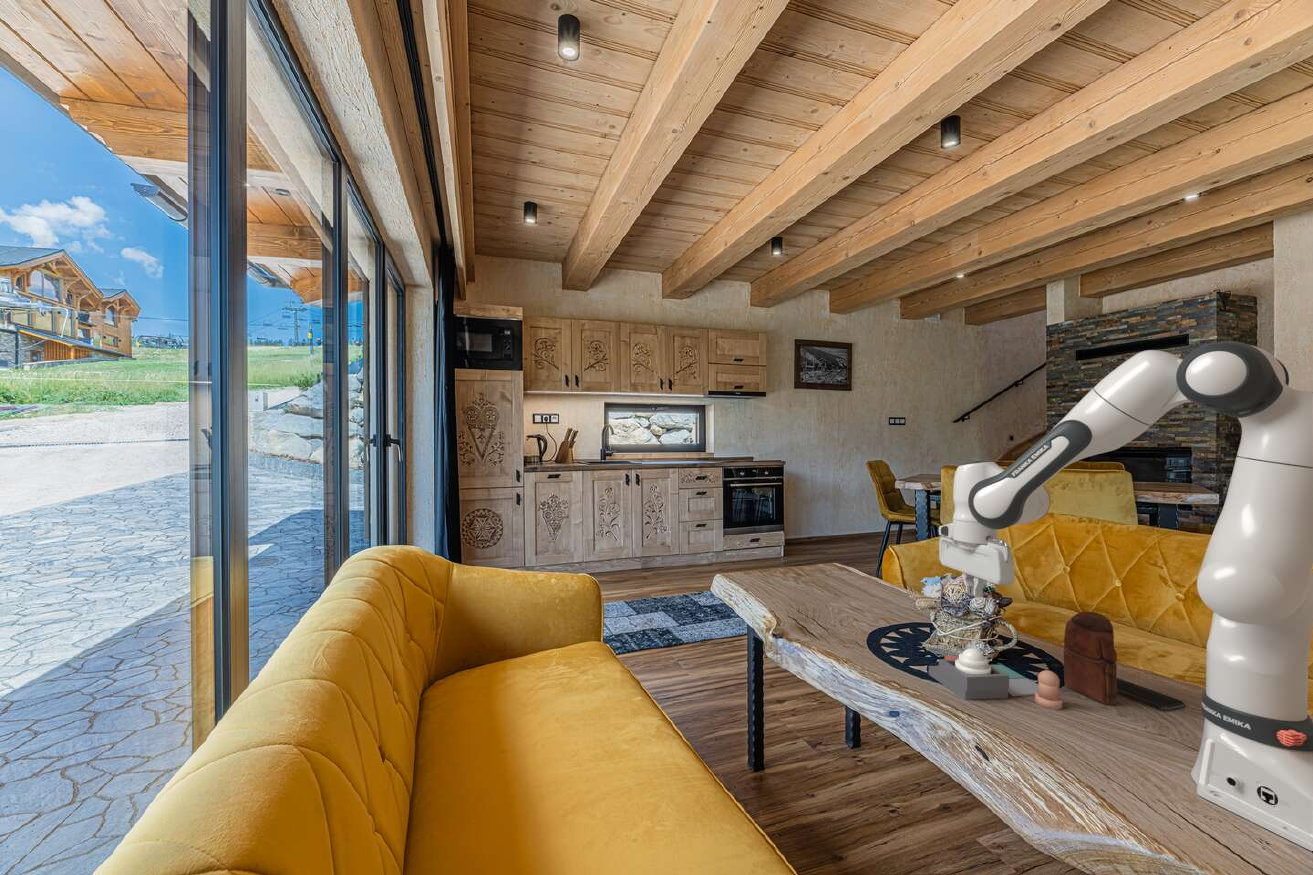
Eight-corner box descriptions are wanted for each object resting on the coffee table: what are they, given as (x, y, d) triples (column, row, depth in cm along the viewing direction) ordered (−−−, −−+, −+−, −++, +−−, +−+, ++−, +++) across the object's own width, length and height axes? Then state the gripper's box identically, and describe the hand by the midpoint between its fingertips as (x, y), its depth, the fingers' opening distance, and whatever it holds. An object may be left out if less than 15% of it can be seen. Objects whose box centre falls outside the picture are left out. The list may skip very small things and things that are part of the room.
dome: (998, 678, 122) (998, 654, 122) (968, 679, 121) (969, 655, 122) (976, 665, 129) (976, 642, 129) (948, 666, 128) (948, 643, 128)
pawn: (1068, 709, 117) (1068, 675, 117) (1047, 710, 116) (1047, 676, 116) (1049, 698, 121) (1049, 666, 122) (1029, 699, 121) (1029, 666, 121)
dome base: (1009, 698, 121) (1009, 675, 121) (966, 700, 120) (966, 677, 120) (967, 673, 134) (968, 652, 134) (928, 674, 133) (929, 653, 133)
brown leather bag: (1130, 704, 119) (1131, 619, 120) (1106, 707, 118) (1107, 621, 118) (1077, 681, 131) (1078, 603, 131) (1055, 683, 130) (1056, 605, 130)
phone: (1164, 708, 116) (1087, 678, 130) (1164, 714, 116) (1087, 683, 130) (1188, 703, 119) (1110, 674, 133) (1188, 708, 119) (1110, 679, 133)
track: (1053, 694, 124) (1053, 692, 124) (1011, 696, 122) (1011, 694, 122) (1001, 666, 139) (1001, 664, 139) (964, 667, 138) (964, 665, 138)
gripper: (1023, 541, 116) (1022, 608, 116) (958, 526, 136) (957, 583, 136) (995, 541, 115) (994, 609, 115) (934, 526, 135) (933, 583, 135)
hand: (974, 595), depth 125 cm, fingers closed
